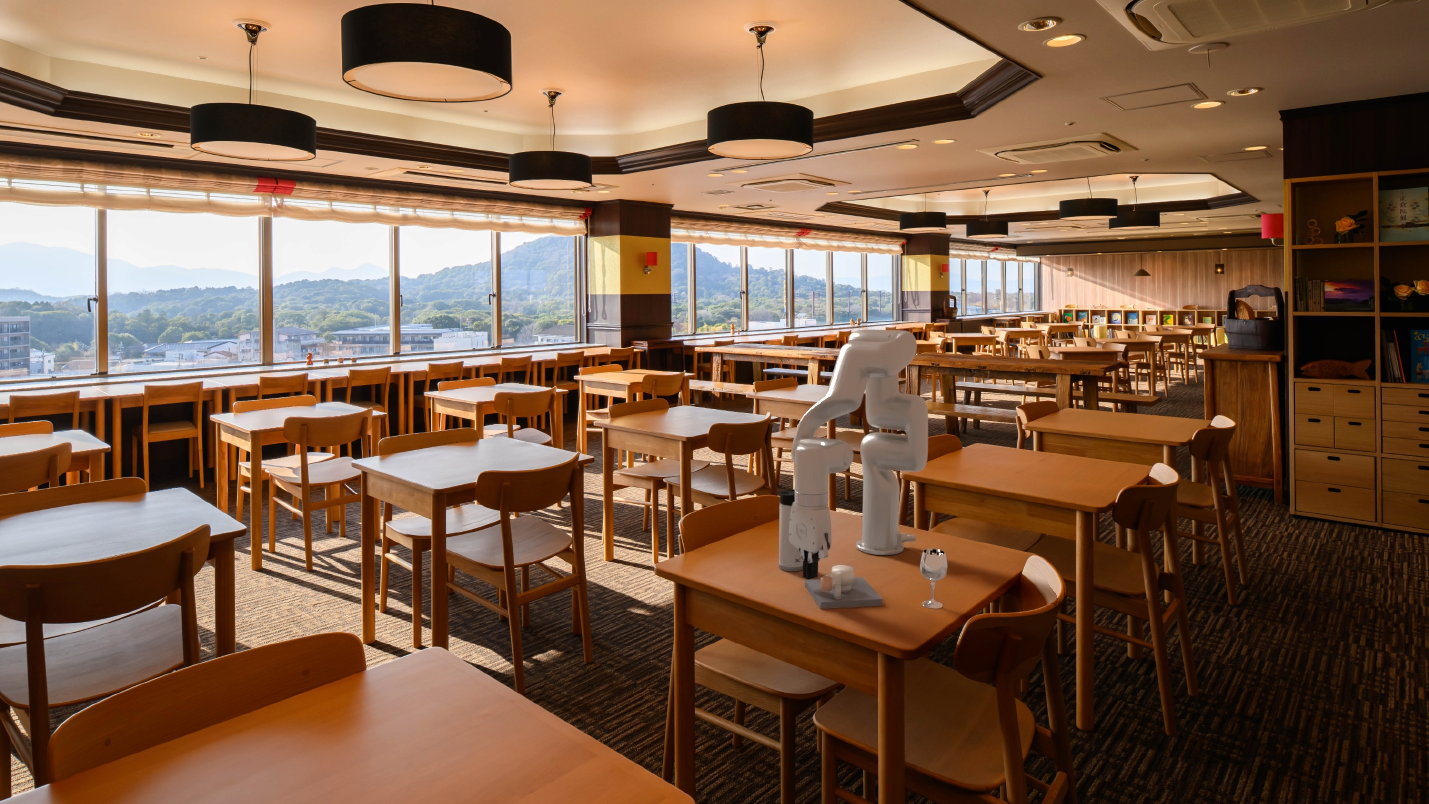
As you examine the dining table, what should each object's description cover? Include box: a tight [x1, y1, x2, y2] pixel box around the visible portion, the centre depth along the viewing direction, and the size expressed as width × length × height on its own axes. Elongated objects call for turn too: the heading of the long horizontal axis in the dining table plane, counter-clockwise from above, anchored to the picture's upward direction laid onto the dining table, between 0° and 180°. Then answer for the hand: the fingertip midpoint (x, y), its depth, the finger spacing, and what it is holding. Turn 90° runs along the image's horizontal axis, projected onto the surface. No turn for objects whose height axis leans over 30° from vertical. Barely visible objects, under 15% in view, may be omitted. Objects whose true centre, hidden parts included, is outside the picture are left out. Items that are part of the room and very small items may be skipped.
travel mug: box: [778, 488, 804, 573], centre depth 196 cm, size 6×7×20 cm
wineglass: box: [919, 548, 948, 610], centre depth 173 cm, size 6×6×12 cm
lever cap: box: [820, 564, 855, 592], centre depth 176 cm, size 11×5×3 cm, turn 142°
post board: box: [804, 576, 884, 610], centre depth 179 cm, size 14×14×4 cm
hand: (810, 577), depth 179 cm, fingers closed
